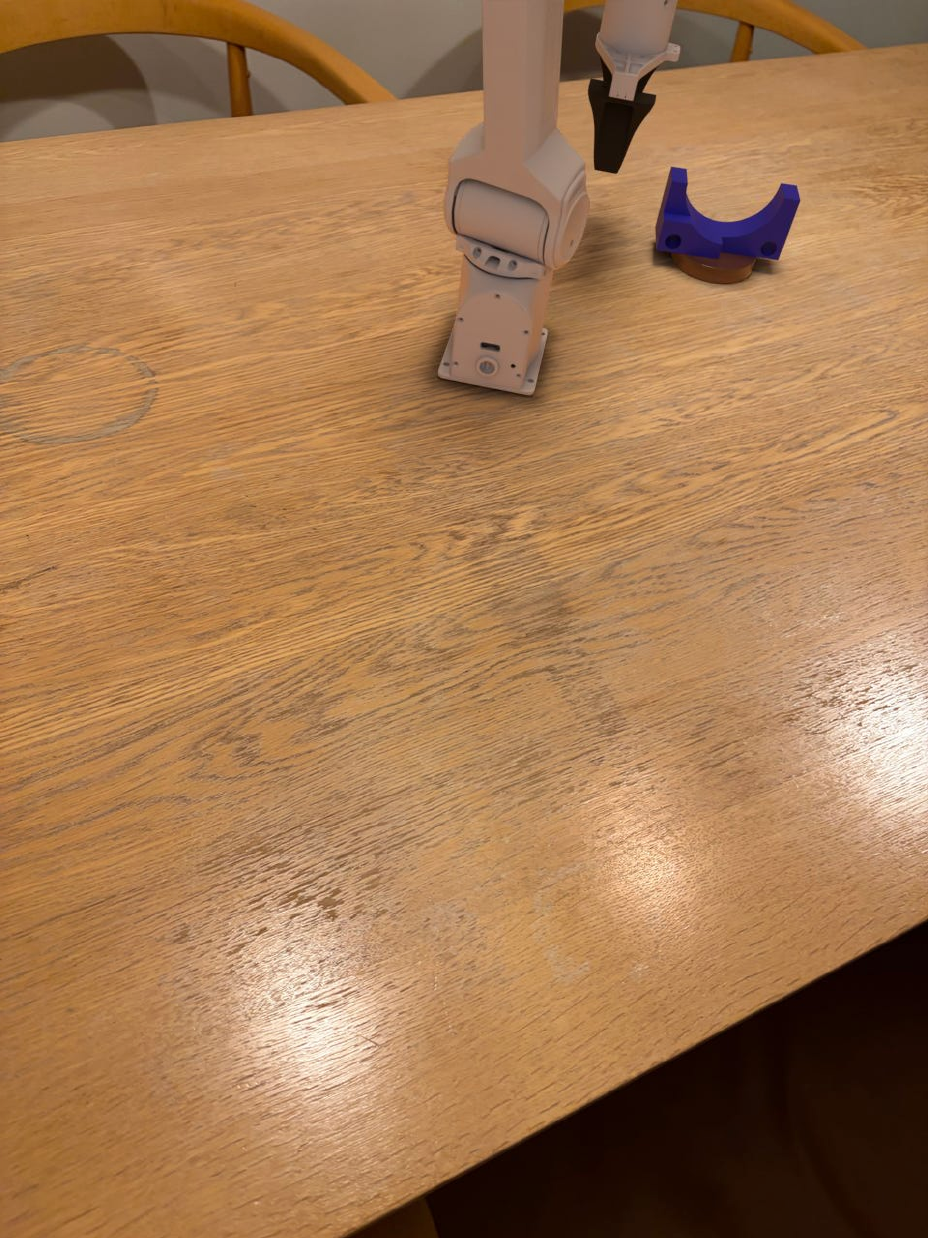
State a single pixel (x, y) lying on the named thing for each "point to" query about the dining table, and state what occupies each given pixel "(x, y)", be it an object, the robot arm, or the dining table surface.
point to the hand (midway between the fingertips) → (609, 151)
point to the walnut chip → (716, 267)
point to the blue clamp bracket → (722, 224)
